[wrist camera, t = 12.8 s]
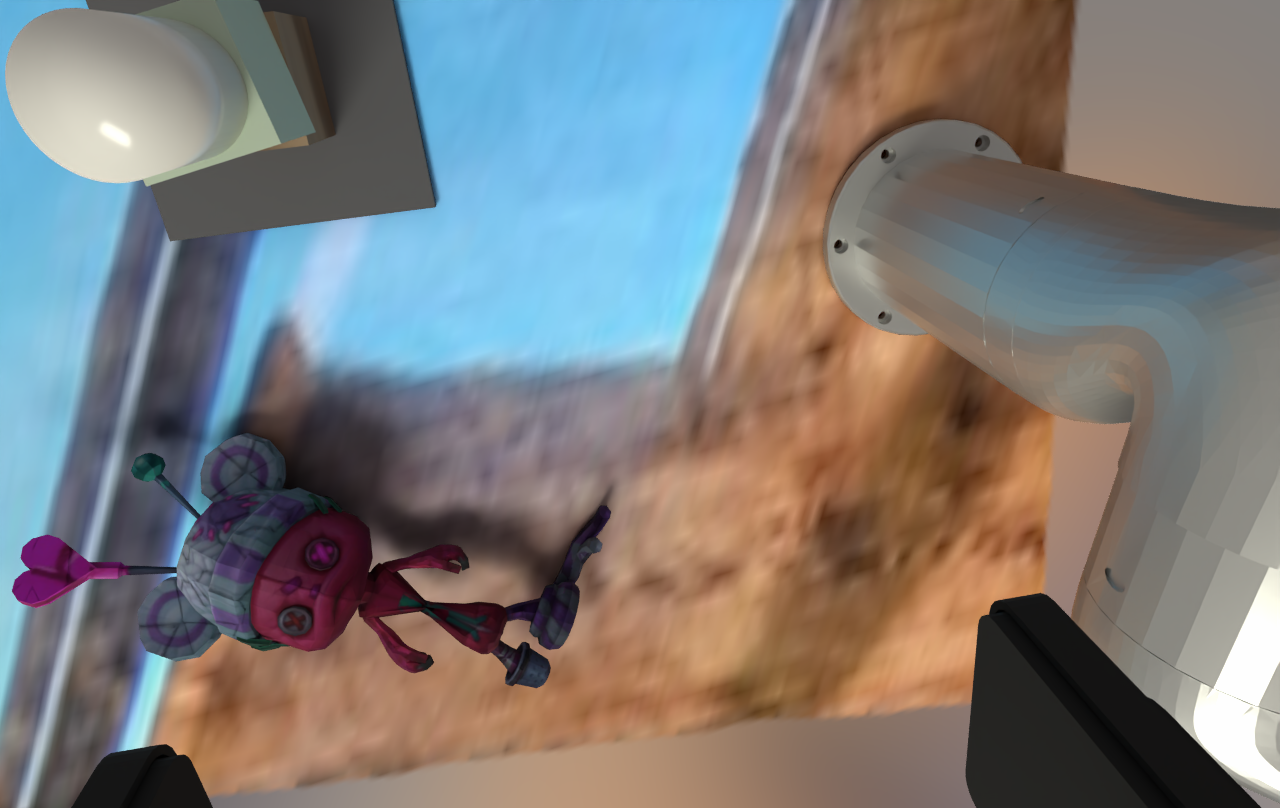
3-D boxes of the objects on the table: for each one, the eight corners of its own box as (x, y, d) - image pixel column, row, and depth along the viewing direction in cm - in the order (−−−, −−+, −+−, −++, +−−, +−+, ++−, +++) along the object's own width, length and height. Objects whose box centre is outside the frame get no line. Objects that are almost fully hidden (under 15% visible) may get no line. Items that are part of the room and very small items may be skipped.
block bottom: (306, 17, 39) (273, 11, 34) (335, 134, 41) (308, 145, 36) (190, 30, 38) (140, 25, 33) (226, 148, 41) (184, 160, 36)
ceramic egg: (223, 10, 29) (152, -2, 23) (264, 152, 31) (208, 172, 25) (81, 26, 29) (-25, 17, 23) (132, 168, 31) (45, 192, 25)
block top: (258, 1, 34) (210, -10, 29) (315, 132, 36) (280, 143, 31) (134, 40, 34) (64, 36, 29) (200, 168, 36) (146, 186, 31)
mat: (374, -91, 38) (372, -93, 37) (436, 205, 43) (435, 207, 43) (69, -60, 37) (64, -61, 36) (173, 239, 42) (170, 241, 42)
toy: (594, 503, 56) (149, 345, 49) (632, 513, 47) (93, 320, 40) (514, 730, 54) (31, 601, 46) (538, 786, 45) (-56, 637, 37)
